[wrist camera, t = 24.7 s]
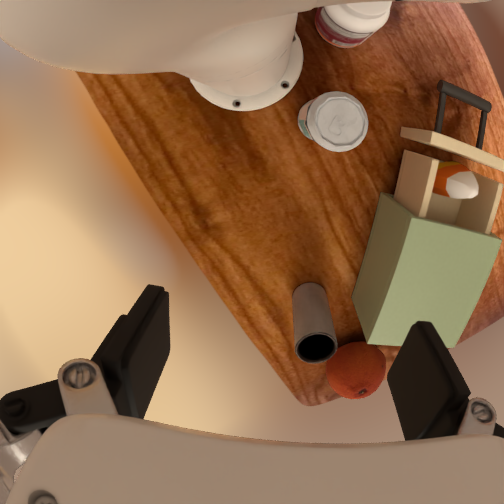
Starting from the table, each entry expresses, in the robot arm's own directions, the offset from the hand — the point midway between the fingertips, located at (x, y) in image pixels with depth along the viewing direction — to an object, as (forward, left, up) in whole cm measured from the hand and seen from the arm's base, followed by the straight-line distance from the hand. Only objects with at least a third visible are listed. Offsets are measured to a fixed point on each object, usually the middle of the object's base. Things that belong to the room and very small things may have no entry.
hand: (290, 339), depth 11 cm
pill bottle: (-20, +4, -26) cm, 33 cm away
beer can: (-8, +3, -26) cm, 28 cm away
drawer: (-6, +18, -25) cm, 32 cm away
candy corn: (-5, +18, -24) cm, 31 cm away
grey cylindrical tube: (+14, +6, -26) cm, 31 cm away
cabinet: (+6, +18, -26) cm, 32 cm away
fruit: (+23, +15, -26) cm, 38 cm away
